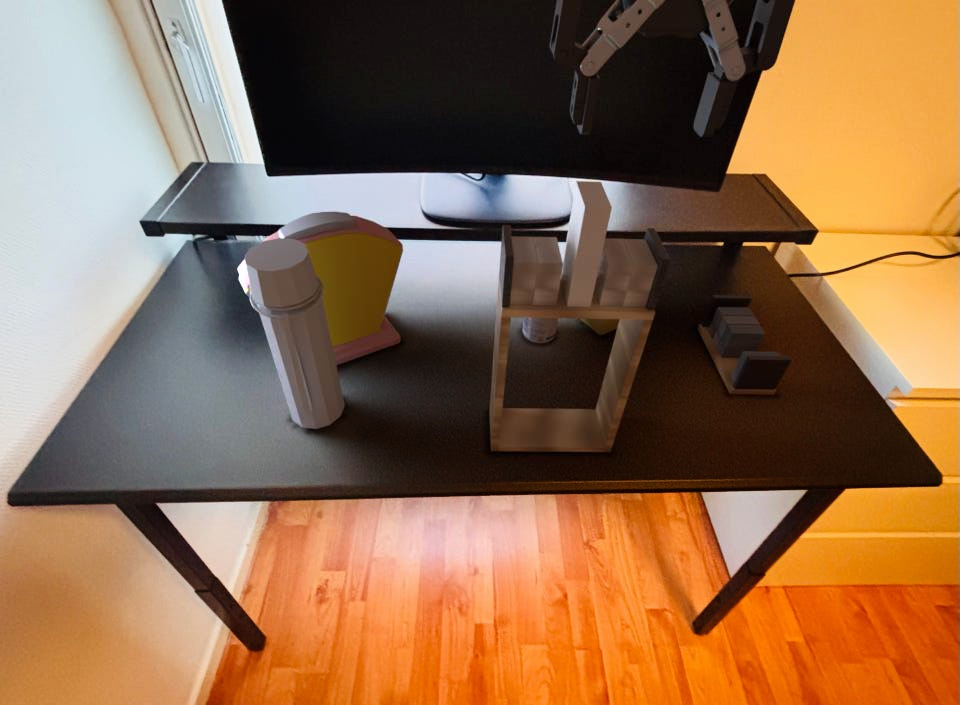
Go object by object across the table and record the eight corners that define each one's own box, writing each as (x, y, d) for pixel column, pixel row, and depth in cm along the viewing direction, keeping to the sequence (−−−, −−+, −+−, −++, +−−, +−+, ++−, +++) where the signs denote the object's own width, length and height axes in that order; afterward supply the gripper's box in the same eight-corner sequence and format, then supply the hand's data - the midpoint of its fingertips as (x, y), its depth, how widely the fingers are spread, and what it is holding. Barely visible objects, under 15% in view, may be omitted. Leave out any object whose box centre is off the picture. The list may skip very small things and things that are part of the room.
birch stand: (601, 413, 74) (637, 283, 59) (610, 452, 69) (653, 320, 55) (489, 412, 74) (498, 280, 59) (490, 451, 69) (501, 317, 54)
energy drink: (555, 324, 88) (565, 263, 80) (554, 345, 85) (565, 283, 76) (523, 321, 89) (530, 259, 81) (521, 342, 85) (528, 279, 77)
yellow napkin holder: (392, 307, 90) (380, 187, 76) (417, 338, 85) (409, 214, 70) (260, 350, 81) (218, 223, 67) (277, 388, 76) (236, 258, 61)
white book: (582, 278, 58) (601, 181, 51) (590, 307, 54) (612, 207, 47) (560, 277, 58) (576, 180, 51) (567, 306, 54) (584, 206, 47)
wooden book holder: (637, 283, 59) (653, 226, 55) (653, 320, 55) (672, 261, 50) (498, 280, 59) (502, 223, 54) (501, 317, 54) (505, 258, 49)
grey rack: (774, 394, 78) (794, 359, 73) (729, 394, 78) (747, 359, 73) (736, 329, 89) (751, 295, 85) (697, 328, 89) (710, 294, 84)
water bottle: (291, 395, 75) (243, 237, 58) (348, 389, 76) (318, 233, 59) (284, 447, 68) (228, 286, 51) (347, 440, 69) (312, 281, 52)
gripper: (819, -181, 30) (722, 117, 41) (568, -193, 30) (537, 111, 41) (898, -192, 25) (761, 155, 35) (592, -208, 24) (548, 149, 35)
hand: (642, 131), depth 38 cm, fingers open, 8 cm apart
